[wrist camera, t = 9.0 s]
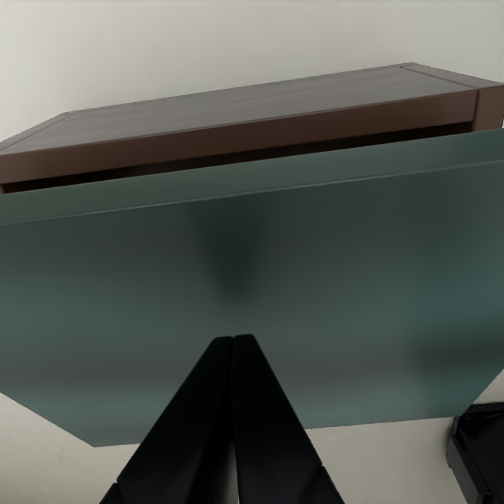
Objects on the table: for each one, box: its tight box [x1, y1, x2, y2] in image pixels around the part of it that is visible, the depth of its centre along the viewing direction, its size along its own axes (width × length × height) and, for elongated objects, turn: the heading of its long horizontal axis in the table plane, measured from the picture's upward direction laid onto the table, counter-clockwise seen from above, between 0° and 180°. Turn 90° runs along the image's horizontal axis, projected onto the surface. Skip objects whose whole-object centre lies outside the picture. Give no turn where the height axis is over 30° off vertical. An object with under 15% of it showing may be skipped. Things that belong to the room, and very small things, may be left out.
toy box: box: [0, 62, 504, 195], centre depth 16 cm, size 12×15×7 cm
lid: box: [0, 128, 504, 447], centre depth 11 cm, size 12×15×1 cm
